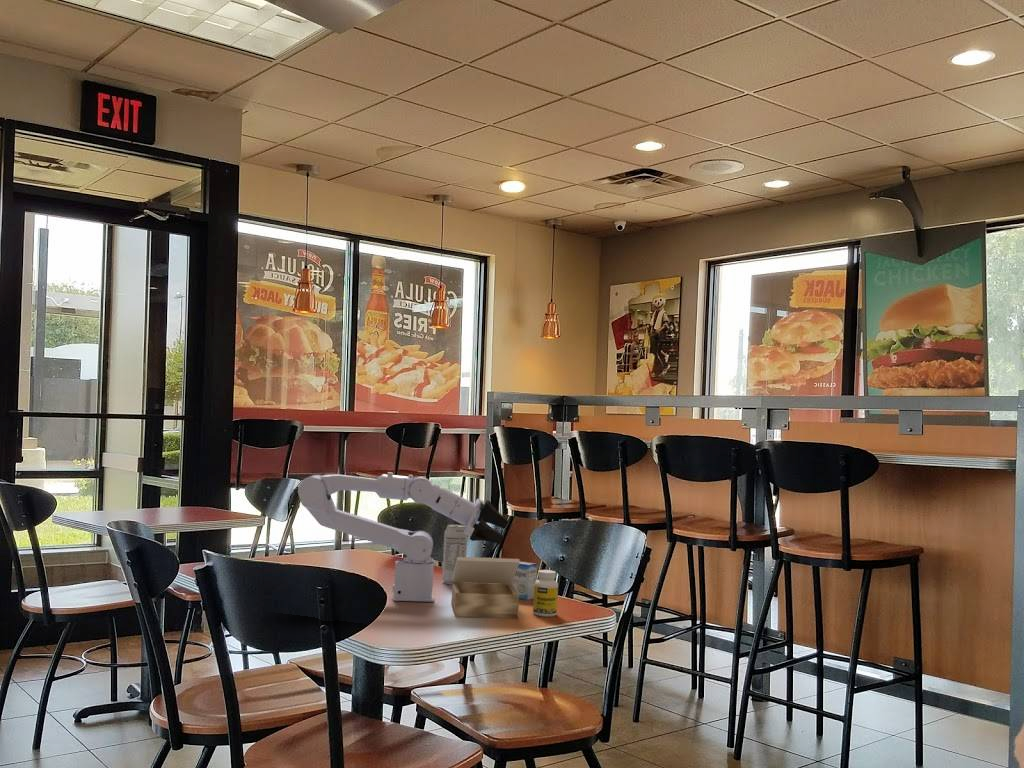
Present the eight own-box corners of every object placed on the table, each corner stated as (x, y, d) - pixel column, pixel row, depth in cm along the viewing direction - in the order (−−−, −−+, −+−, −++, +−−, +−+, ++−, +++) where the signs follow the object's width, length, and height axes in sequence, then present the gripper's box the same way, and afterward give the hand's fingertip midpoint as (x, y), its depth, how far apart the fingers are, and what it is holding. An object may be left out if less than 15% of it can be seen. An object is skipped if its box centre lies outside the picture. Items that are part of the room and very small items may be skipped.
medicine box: (499, 596, 233) (501, 561, 234) (507, 593, 237) (509, 559, 238) (527, 600, 230) (529, 564, 230) (535, 598, 234) (537, 562, 234)
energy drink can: (466, 581, 251) (469, 525, 252) (462, 585, 245) (465, 527, 246) (444, 580, 252) (447, 523, 253) (440, 584, 246) (443, 526, 247)
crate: (454, 616, 207) (455, 593, 207) (451, 603, 221) (452, 582, 221) (517, 618, 208) (519, 595, 209) (510, 605, 222) (511, 584, 223)
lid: (457, 560, 209) (457, 556, 210) (452, 582, 221) (452, 578, 221) (519, 562, 211) (519, 558, 211) (511, 584, 223) (511, 580, 223)
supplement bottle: (533, 616, 211) (535, 572, 212) (532, 611, 217) (534, 568, 217) (557, 617, 212) (559, 573, 212) (555, 612, 217) (557, 569, 217)
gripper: (455, 508, 218) (507, 534, 218) (466, 480, 231) (516, 505, 232) (442, 531, 220) (494, 557, 221) (454, 502, 234) (503, 527, 234)
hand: (504, 532), depth 226 cm, fingers open, 7 cm apart
